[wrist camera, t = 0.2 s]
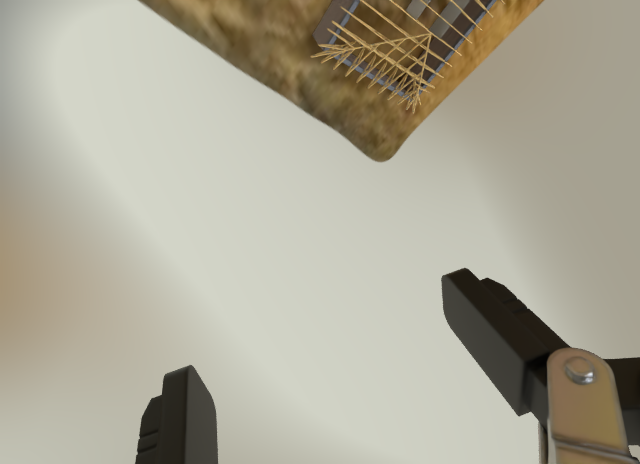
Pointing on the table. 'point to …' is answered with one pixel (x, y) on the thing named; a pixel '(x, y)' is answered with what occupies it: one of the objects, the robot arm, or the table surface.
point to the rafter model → (449, 31)
